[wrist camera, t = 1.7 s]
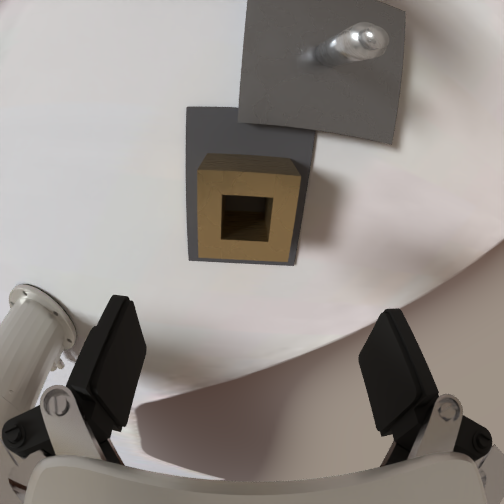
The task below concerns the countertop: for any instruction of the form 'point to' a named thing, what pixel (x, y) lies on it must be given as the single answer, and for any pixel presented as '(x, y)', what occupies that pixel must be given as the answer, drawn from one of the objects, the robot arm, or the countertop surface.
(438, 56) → the countertop surface
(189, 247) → the mat
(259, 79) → the grey peg stand
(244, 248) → the collar
